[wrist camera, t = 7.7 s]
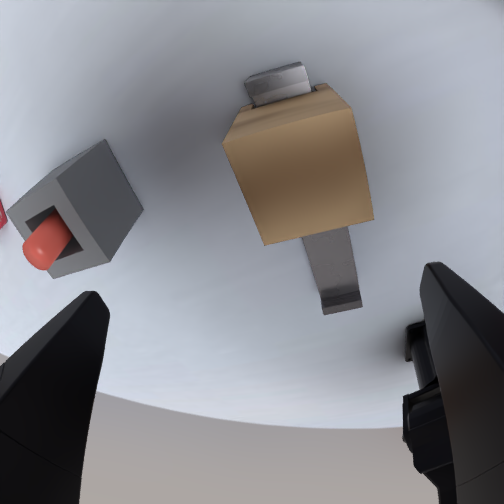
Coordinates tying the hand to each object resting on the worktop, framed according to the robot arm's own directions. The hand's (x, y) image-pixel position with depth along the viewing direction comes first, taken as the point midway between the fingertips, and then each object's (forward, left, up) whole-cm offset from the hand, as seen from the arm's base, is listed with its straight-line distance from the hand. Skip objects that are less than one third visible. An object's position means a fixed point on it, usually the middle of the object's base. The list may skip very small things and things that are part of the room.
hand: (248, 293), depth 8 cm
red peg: (+1, +13, -9) cm, 16 cm away
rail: (-5, -2, -13) cm, 14 cm away
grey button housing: (+1, +13, -13) cm, 19 cm away
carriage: (0, -2, -13) cm, 13 cm away
